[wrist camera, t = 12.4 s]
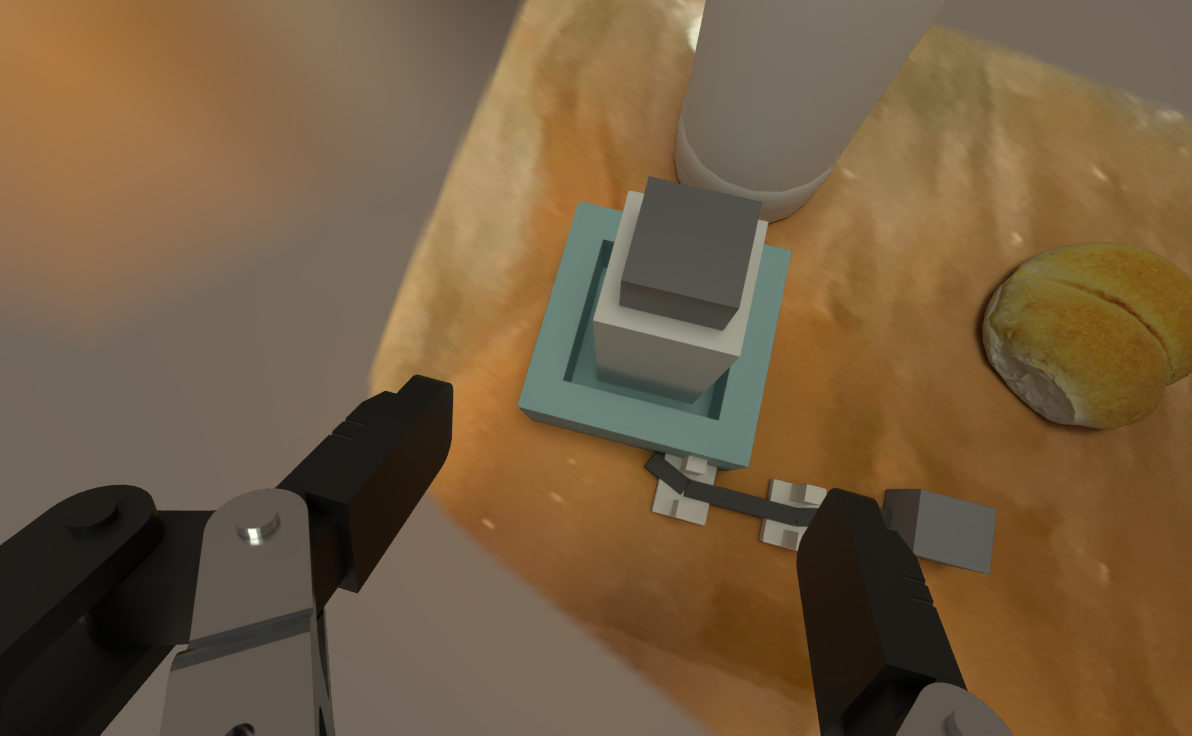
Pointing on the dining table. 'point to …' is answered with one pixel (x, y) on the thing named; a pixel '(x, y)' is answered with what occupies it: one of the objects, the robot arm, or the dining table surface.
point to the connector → (677, 289)
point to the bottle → (787, 91)
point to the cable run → (915, 514)
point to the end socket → (582, 403)
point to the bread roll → (1091, 332)
